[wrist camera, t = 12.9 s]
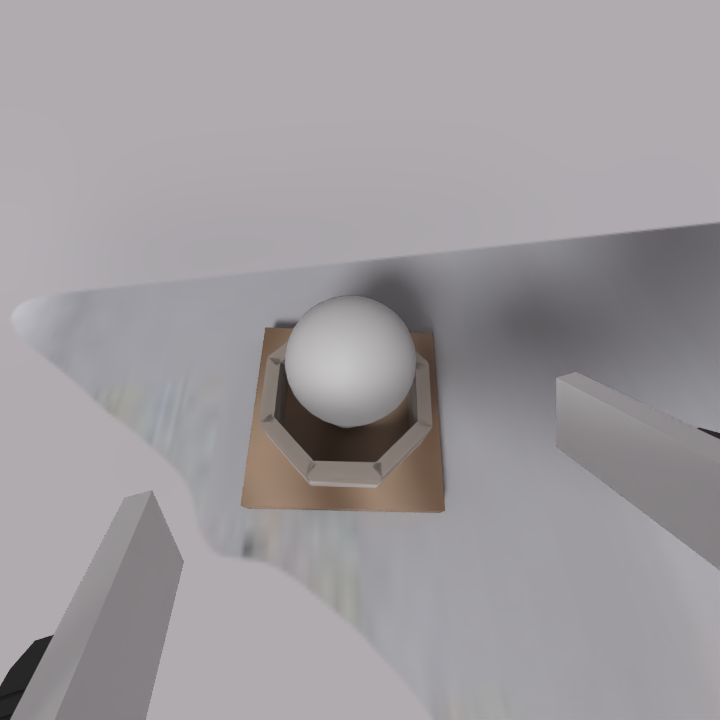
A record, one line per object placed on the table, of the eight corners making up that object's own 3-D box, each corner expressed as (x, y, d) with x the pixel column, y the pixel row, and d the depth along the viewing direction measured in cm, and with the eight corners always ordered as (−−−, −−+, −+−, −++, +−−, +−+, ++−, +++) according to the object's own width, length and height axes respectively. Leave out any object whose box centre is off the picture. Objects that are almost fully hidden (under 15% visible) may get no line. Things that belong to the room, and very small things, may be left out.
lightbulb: (303, 367, 27) (285, 263, 17) (393, 372, 28) (425, 271, 18) (294, 458, 25) (267, 396, 15) (393, 462, 25) (432, 404, 15)
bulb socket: (429, 342, 30) (443, 306, 26) (439, 512, 25) (460, 504, 21) (268, 337, 30) (255, 299, 26) (246, 508, 25) (224, 498, 20)
